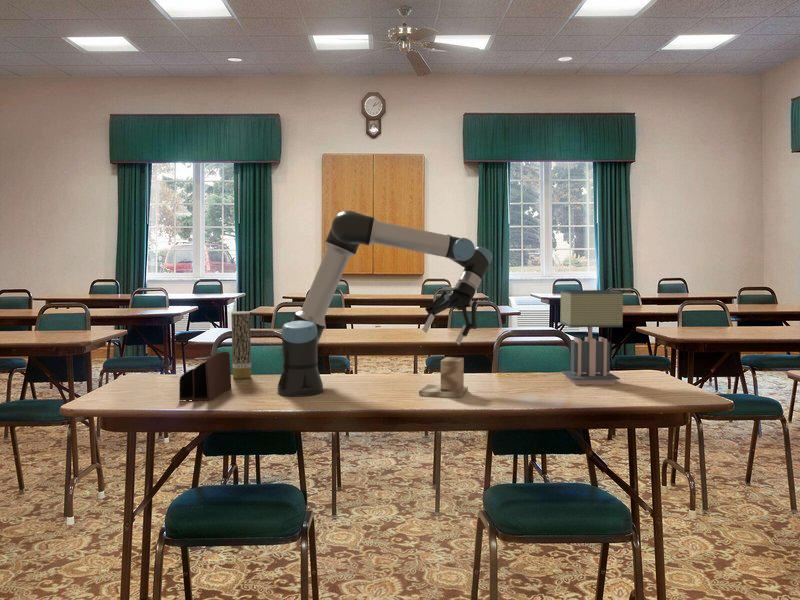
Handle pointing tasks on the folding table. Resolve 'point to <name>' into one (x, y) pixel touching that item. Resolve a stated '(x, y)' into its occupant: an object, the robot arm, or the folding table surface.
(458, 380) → the block
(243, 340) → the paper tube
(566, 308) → the desk lamp
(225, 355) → the letter holder
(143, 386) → the folding table surface
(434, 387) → the board
